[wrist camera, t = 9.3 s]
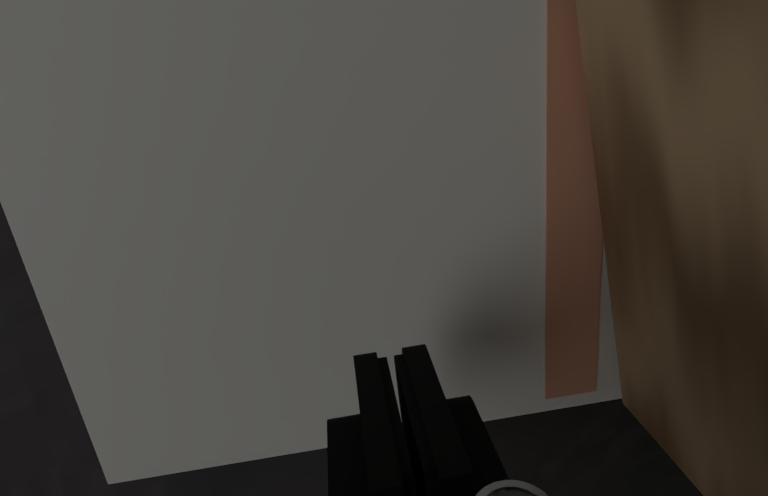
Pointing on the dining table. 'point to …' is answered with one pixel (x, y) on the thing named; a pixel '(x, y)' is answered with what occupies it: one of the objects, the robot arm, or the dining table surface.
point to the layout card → (301, 212)
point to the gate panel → (686, 223)
